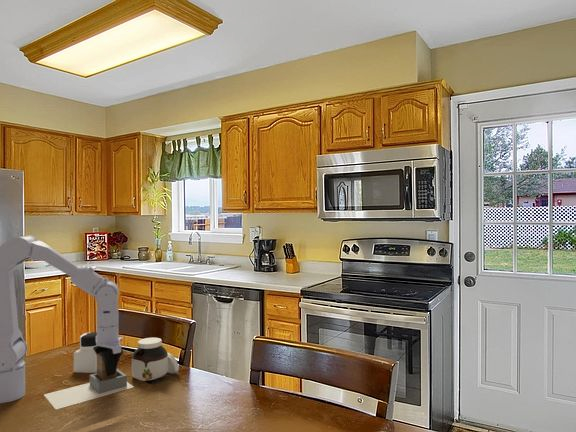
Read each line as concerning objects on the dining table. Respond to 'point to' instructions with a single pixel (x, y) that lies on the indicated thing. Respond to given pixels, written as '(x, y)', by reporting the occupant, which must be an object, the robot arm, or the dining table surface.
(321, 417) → the dining table surface
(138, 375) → the spread jar
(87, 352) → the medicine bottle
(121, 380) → the board
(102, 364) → the rail post
